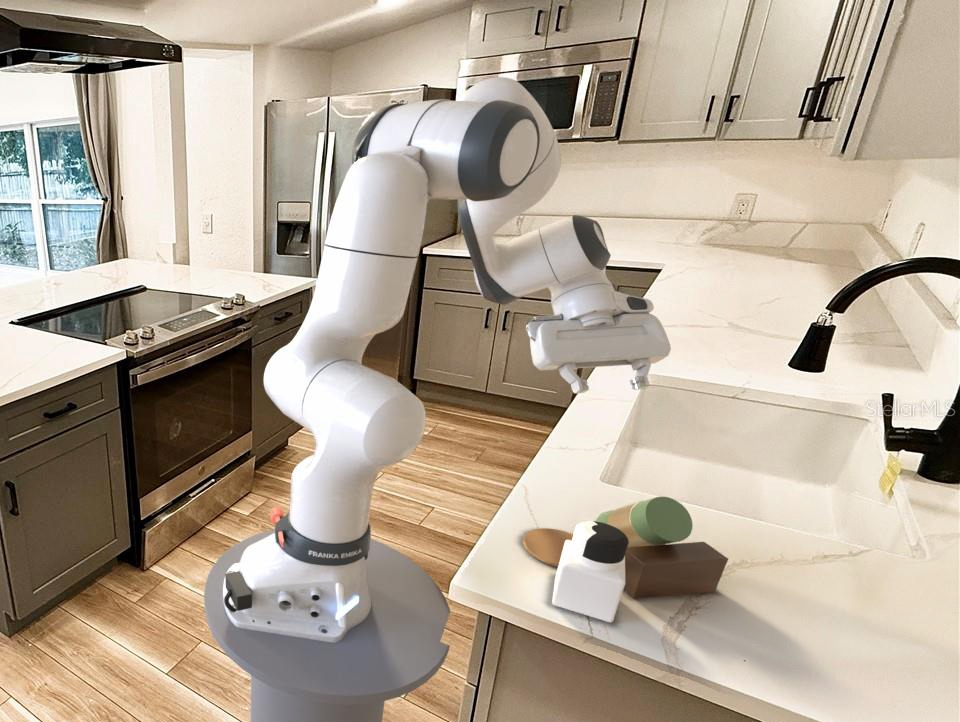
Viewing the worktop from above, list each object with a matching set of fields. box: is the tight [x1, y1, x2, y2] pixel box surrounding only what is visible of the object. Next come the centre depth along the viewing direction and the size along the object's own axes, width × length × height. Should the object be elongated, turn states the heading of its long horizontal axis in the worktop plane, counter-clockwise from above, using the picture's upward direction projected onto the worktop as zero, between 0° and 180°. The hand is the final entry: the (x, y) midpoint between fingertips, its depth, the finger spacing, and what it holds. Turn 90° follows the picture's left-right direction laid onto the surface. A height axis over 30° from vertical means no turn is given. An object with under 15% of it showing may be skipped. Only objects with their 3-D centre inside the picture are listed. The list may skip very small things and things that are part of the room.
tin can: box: [595, 496, 693, 547], centre depth 92 cm, size 12×7×12 cm, turn 3°
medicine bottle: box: [551, 520, 629, 623], centre depth 85 cm, size 7×7×12 cm
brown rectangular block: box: [623, 541, 729, 599], centre depth 92 cm, size 14×12×6 cm
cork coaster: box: [522, 527, 574, 568], centre depth 98 cm, size 10×10×1 cm
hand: (611, 390), depth 97 cm, fingers open, 8 cm apart
